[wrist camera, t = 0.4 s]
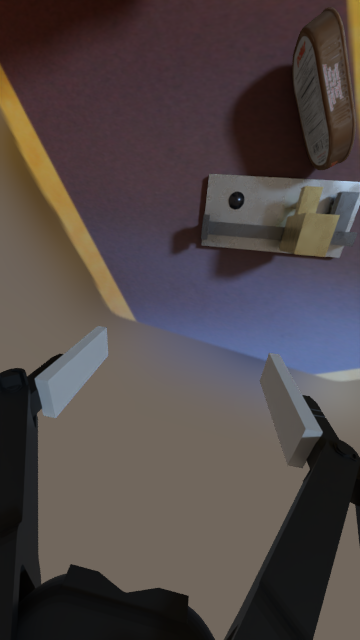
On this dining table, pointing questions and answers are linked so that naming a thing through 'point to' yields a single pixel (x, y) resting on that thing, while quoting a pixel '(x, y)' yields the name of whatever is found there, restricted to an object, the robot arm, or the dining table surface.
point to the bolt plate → (266, 206)
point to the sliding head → (308, 226)
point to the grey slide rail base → (340, 207)
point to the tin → (324, 90)
